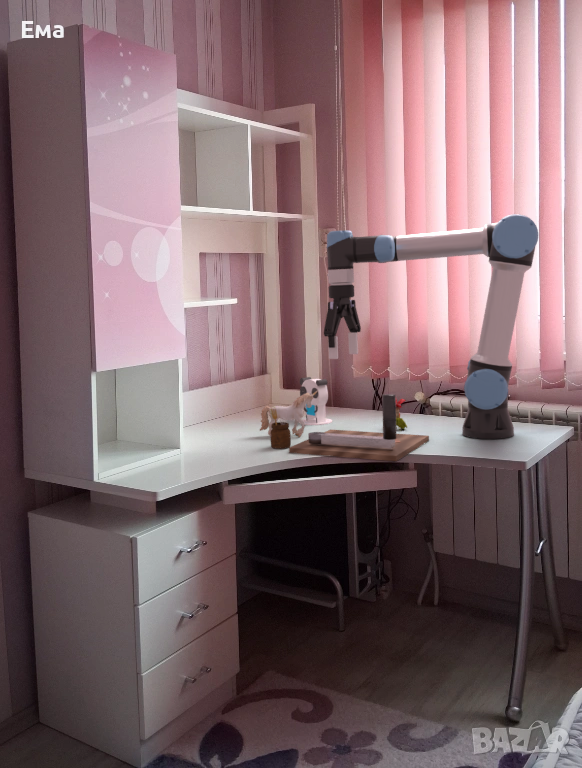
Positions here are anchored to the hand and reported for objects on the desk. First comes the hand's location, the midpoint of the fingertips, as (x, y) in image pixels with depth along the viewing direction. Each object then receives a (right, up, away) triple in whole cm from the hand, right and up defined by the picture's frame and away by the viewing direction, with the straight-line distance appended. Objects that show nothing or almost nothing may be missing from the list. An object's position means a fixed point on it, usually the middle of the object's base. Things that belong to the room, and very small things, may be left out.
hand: (343, 356), depth 236 cm
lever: (+1, -25, -13) cm, 28 cm away
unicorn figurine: (-16, -24, +16) cm, 33 cm away
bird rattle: (+18, -23, +20) cm, 35 cm away
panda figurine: (-7, -21, +36) cm, 43 cm away
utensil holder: (-19, -27, -2) cm, 33 cm away
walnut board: (+5, -26, -6) cm, 27 cm away
